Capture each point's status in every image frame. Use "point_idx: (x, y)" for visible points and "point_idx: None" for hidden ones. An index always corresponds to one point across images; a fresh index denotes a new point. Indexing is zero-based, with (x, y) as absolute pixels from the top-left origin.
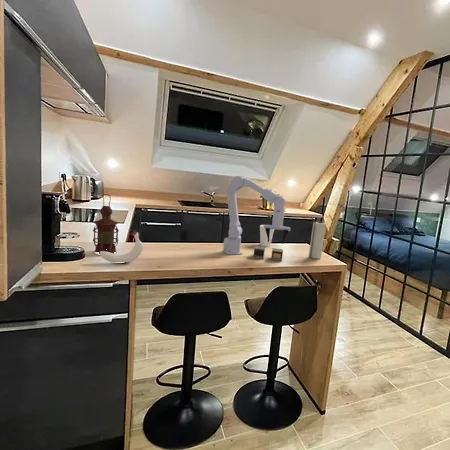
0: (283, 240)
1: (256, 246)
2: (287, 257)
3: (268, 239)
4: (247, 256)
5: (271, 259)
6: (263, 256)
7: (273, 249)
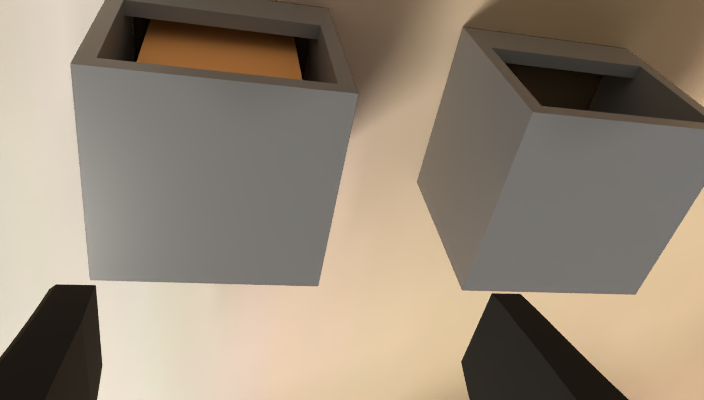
0: (8, 362)
1: (623, 267)
2: (21, 256)
3: (554, 340)
4: (691, 91)
5: (325, 11)
6: (484, 46)
7: (312, 190)
